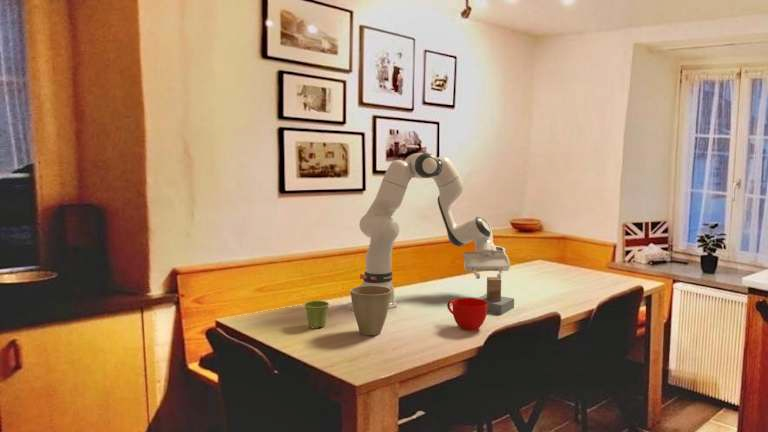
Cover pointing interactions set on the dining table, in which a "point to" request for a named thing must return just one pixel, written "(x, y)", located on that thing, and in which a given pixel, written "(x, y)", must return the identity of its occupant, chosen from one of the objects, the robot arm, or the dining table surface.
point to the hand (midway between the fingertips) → (488, 278)
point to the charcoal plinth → (498, 305)
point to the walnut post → (493, 289)
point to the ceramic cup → (468, 312)
